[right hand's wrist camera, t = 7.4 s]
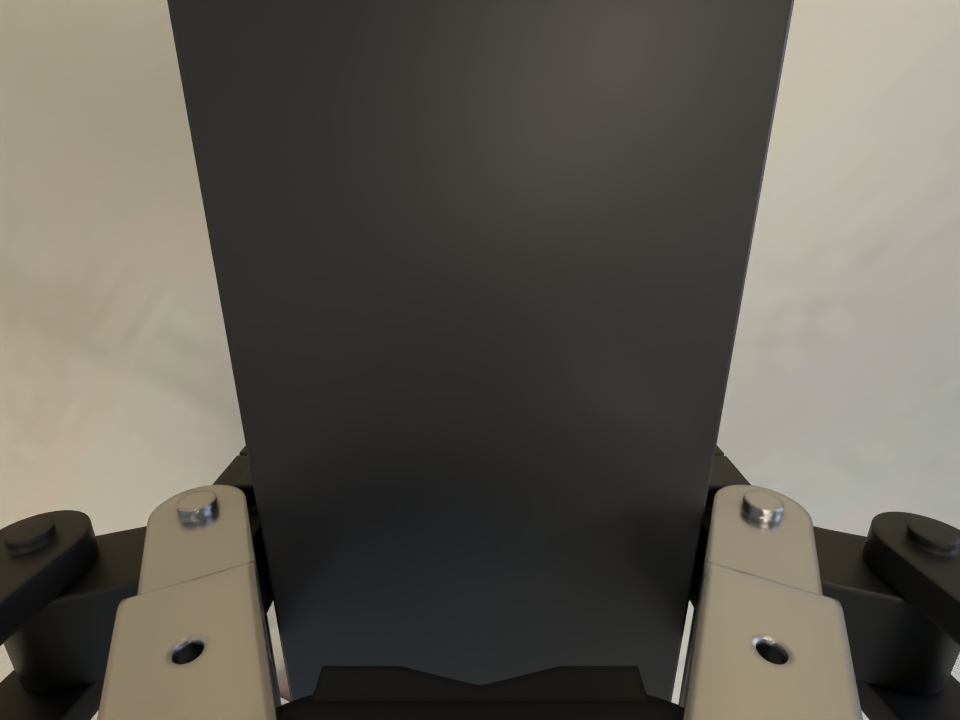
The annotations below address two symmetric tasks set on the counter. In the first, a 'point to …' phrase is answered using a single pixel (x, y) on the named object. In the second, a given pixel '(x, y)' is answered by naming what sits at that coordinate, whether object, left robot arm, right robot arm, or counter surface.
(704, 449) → the box
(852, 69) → the counter surface
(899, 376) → the counter surface
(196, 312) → the counter surface
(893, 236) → the counter surface
